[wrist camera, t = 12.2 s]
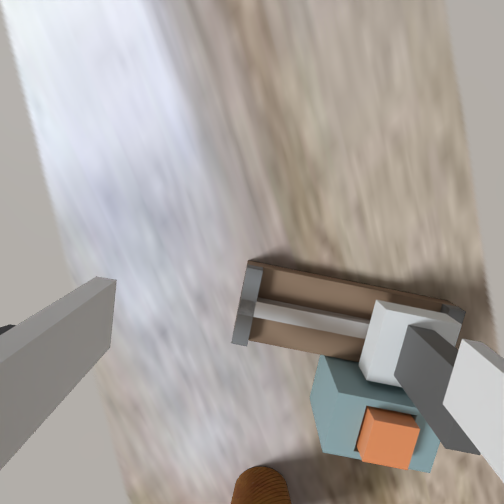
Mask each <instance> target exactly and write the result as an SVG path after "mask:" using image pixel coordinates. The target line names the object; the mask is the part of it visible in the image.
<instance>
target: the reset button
mask: <svg viewBox="0 0 504 504" xmlns="http://www.w3.org/2000/svg"><path fill="white" fill-rule="evenodd" d="M419 432H420V428H419V426H418V425H417V423H416V422H415V420H414V419H413V417H412V416H411V414H407V413H402V412H397V411H392V410H387V409H381V408H376V407H371V406H366V409H365V412H364V416H363V419H362V423H361V427H360V430H359V434H358V437H357V441H356V446H357V448H358V451H359V454H360V456H361V459H362V461H363V462H368V463H373V464H378V465H384V466H389V467H394V468H399V469H404V470H408V467H409V464H410V461H411V457H412V454H413V451H414V448H415V445H416V441H417V438H418V435H419Z"/></svg>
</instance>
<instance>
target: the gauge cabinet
mask: <svg viewBox="0 0 504 504" xmlns="http://www.w3.org/2000/svg"><path fill="white" fill-rule="evenodd" d="M358 365H359V362H356V361H350V360H345V359H340V358H335V357H330V356H325V355H320V359H319V363H318V367H317V371H316V375H315V379H314V383H313V387H312V391H311V395H310V401H311V406H312V410H313V414H314V418H315V422H316V426H317V431H318V435H319V439H320V443H321V447H322V451H323V452H324V453H329V454H334V455H339V456H345V457H350V458H355V459H360V460H362V459H361V456H360V454H359V451H358V448H357V446H356V441H357V437H358V434H359V430H360V427H361V423H362V419H363V416H364V412H365V409H366V406H371V407H376V408H381V409H387V410H392V411H397V412H402V413H407V414H411V416H412V417H413V419H414V420H415V422H416V423H417V425H418V426H419V428H420V432H419V435H418V438H417V441H416V445H415V448H414V451H413V454H412V457H411V461H410V464H409V467H408V469H412V470H417V471H422V472H427V473H430V472H431V468H432V465H433V462H434V459H435V456H436V453H437V450H438V447H439V444H440V440H439V439H438V437H437V436H436V435H435V433H434V432H433V430H432V429H431V427H430V426H429V425H428V423H427V422H426V420H425V419H424V418H423V416H422V415H421V413H420V412H419V410H418V409H417V408H416V406H415V405H414V403H413V402H412V401H411V399H410V398H409V396H408V395H407V394H406V392H405V391H404V389H403V388H402V387H398V386H393V385H388V384H383V383H378V382H373V381H368V380H366V378H365V376H364V375H363V373H362V371H361V369H360V367H359V366H358Z"/></svg>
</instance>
